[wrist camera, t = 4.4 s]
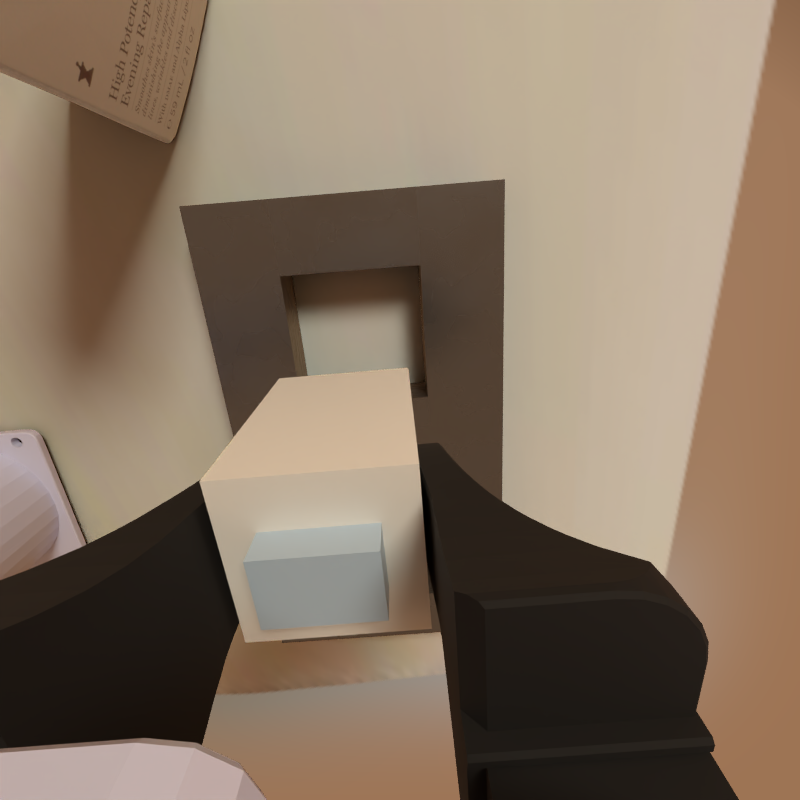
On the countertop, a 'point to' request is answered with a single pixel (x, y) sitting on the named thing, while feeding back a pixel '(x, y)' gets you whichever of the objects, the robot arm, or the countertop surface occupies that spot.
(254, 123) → the countertop surface
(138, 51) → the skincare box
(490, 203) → the panel
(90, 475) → the countertop surface
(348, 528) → the plug
